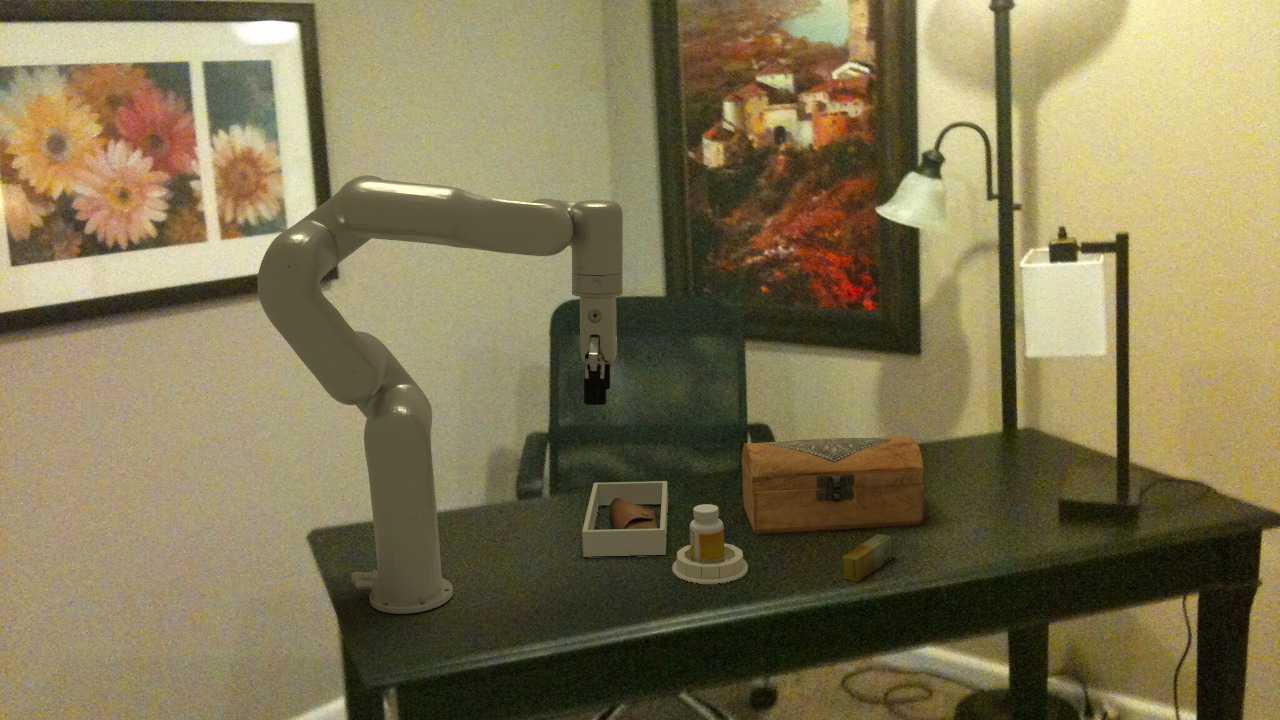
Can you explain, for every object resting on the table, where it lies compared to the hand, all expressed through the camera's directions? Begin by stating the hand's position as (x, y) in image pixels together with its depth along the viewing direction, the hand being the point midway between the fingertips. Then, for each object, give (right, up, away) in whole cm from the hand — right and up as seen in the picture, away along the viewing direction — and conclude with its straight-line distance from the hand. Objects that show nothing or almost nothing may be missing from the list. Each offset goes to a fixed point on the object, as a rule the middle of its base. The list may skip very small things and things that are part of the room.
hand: (597, 396), depth 182 cm
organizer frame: (+4, -24, +29) cm, 38 cm away
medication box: (+43, -28, +8) cm, 51 cm away
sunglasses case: (+6, -25, +29) cm, 39 cm away
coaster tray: (+18, -28, +10) cm, 34 cm away
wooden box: (+41, -23, +32) cm, 56 cm away
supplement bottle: (+17, -27, +9) cm, 34 cm away
